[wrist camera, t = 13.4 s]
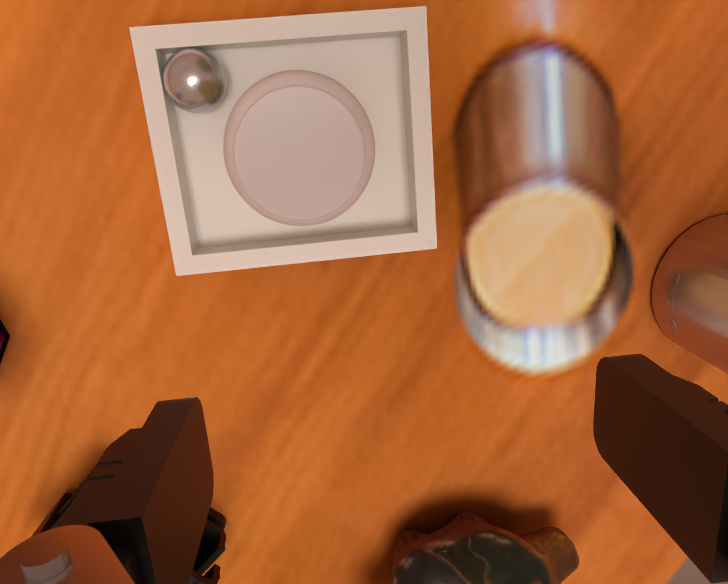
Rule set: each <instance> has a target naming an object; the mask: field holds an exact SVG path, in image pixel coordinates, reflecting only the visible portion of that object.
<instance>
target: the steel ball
mask: <svg viewBox="0 0 728 584" xmlns="http://www.w3.org/2000/svg"><path fill="white" fill-rule="evenodd" d="M163 85H164V88H165V91H166V93H167V95H168V97H169V98H170V100H171V101H172V102H173V103H174V104H175V105H176V106H178V107H179V108H181V109H183V110H185V111H187V112H191V113H205V112H208V111H210V110H212V109H214V108H215V107H217V106H218V105H219V104H220V102H221V101H222V100H223V98H224V96H225V93H226V88H227V80H226V75H225V72H224V69H223V67H222V66H221V64H220V62H219V61H218V60H217V59H216V58H215V57H214V56H213V55H212V54H210V53H209V52H207V51H205V50H202V49H199V48H184V49H181V50H179V51H177V52H175V53H174V54H173V55H171V56H170V58H169V59H168V60H167V62H166V64H165V66H164V69H163Z"/></svg>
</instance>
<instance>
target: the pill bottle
mask: <svg viewBox="0 0 728 584" xmlns="http://www.w3.org/2000/svg"><path fill="white" fill-rule="evenodd" d="M223 153H224V160H225V165H226V169H227V172H228V175H229V177H230V180H231V182H232V184H233V186H234V187H235V189H236V190H237V192H238V193H239V195H240V196H241V197H242V198H243V200H244V201H245V202H246V203H247V204H248V205H249V206H250V207H251V208H253V209H254V210H255V211H257V212H258V213H259V214H261V215H263V216H264V217H266V218H268V219H270V220H273V221H275V222H278V223H282V224H286V225H291V226H312V225H317V224H321V223H324V222H327V221H330V220H332V219H334V218H336V217H338V216H339V215H341V214H343V213H344V212H345V211H347V210H348V209H349V208H350V207H351V206H352V205H353V204H354V203H355V202H356V201H357V200H358V199H359V197H360V196H361V195H362V193H363V192H364V190H365V188H366V186H367V184H368V182H369V180H370V177H371V174H372V170H373V165H374V160H375V140H374V134H373V130H372V126H371V123H370V121H369V118H368V116H367V114H366V112H365V110H364V108H363V107H362V105H361V104H360V102H359V101H358V100H357V98H356V97H355V96H354V95H353V94H352V93H351V92H350V91H349V90H348V89H347V88H346V87H344V86H343V85H342V84H340V83H339V82H337V81H336V80H334V79H332V78H330V77H328V76H326V75H323V74H320V73H316V72H312V71H307V70H287V71H281V72H277V73H274V74H271V75H269V76H267V77H265V78H263V79H261V80H259V81H258V82H256V83H255V84H253V85H252V86H251V87H250V88H248V89H247V90H246V91H245V92H244V93H243V94H242V96H241V97H240V98H239V99H238V101H237V102H236V104H235V105H234V107H233V109H232V111H231V113H230V115H229V118H228V120H227V124H226V127H225V133H224V143H223Z"/></svg>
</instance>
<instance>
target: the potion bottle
mask: <svg viewBox="0 0 728 584" xmlns="http://www.w3.org/2000/svg"><path fill="white" fill-rule="evenodd" d="M9 337H10V335H9V334H8V332H7V330H6V329H5V327H4V325H3V324H2V322H1V320H0V363H1V360H2V357H3V354H4V352H5V349H6V346H7V343H8V340H9Z"/></svg>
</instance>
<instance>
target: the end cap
mask: <svg viewBox="0 0 728 584" xmlns="http://www.w3.org/2000/svg"><path fill="white" fill-rule="evenodd" d="M89 476H90V475H89ZM89 476H88V477H89ZM88 477H87V478H86V479H85V481H84V482H83V483H82V484H81V485H80V486H79V488H78V489H77V490H76V491H75V492H74V494H73V495H71V494H69V493H66V494H64V496H63V497H62V498H61V499H60V500H59V501H58V503H57V504H56V505H55V506H54V508H53V509H52V510H51V511H50V513H49V514H48V515H47V517H46V518H45V519H44V520H43V522H42V523H41V524H40V526H39V527H38V528H37V530H36V531H35V532H34V534H33V535H32V536H34V535H37V534H39V533H42V532H44V531H47V530H50V529H53V528H56V527H57V525H58V524H59V522H60V521H61V519H62V518H63V516H64V515H65V513H66V511H67V510H68V508H69V507H70V505H71V504H72V502H73V501H74V499H75V498H76V496H77V494H78V493H79V491H80V490H81V488H82V487H83V485H84V484H85V482H88ZM225 523H226V520H225V517H224V516H223V515H221V514H220V513H218V512H217V511H215V510H214V509H212V508H210V509H209V513H208V516H207V520H206V523H205V527H204V531H203V534H202V538H201V541H200V545H199V549H198V552H197V556H196V560H195V563H194V567H193V570H192V574H191V578H190V581H189V584H217V583H218V580H219V579H220V566H218V565H216V564H214V566H213V567H212V568H211V569H210V570H209V571H208V572H207V573H206V574H205V575H204V576H202V574H203V573H204V572H205V571H206V570H207V569H208V568H209V567H210V566H211V565H212V564H213V562H214V561H215V560H216V559H217V558H218V557H219V556H220V555H221V554H222V553H223V552H224V551H225V540H226V535H225V532H224V531H223V530H224V528H225Z"/></svg>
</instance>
